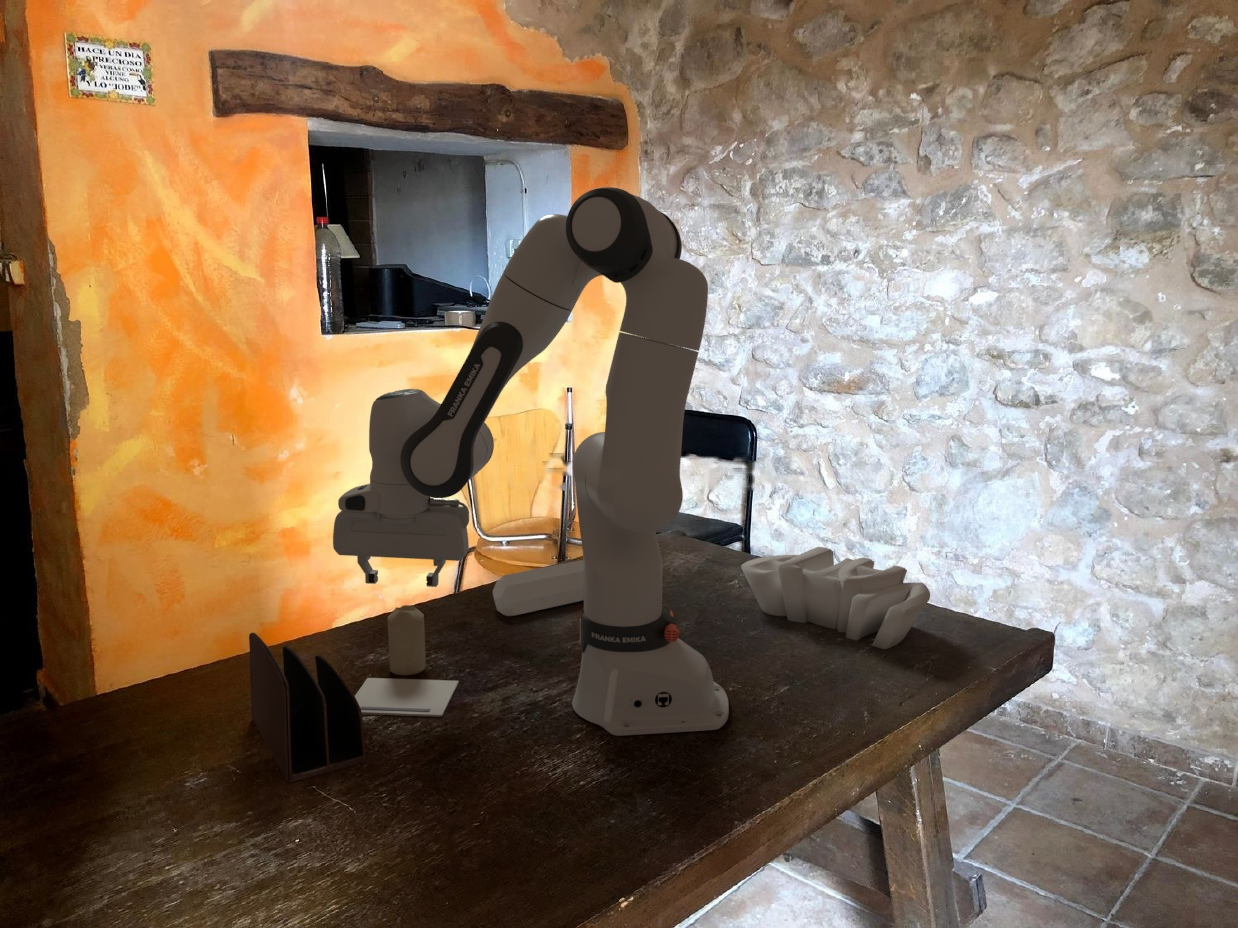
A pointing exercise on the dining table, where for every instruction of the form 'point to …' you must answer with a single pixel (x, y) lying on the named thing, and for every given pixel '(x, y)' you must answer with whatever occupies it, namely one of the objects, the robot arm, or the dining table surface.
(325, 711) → the letter holder
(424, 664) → the candle
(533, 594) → the grey chamfered bar
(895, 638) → the wavy white extrusion
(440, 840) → the dining table surface
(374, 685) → the white rectangular plate
